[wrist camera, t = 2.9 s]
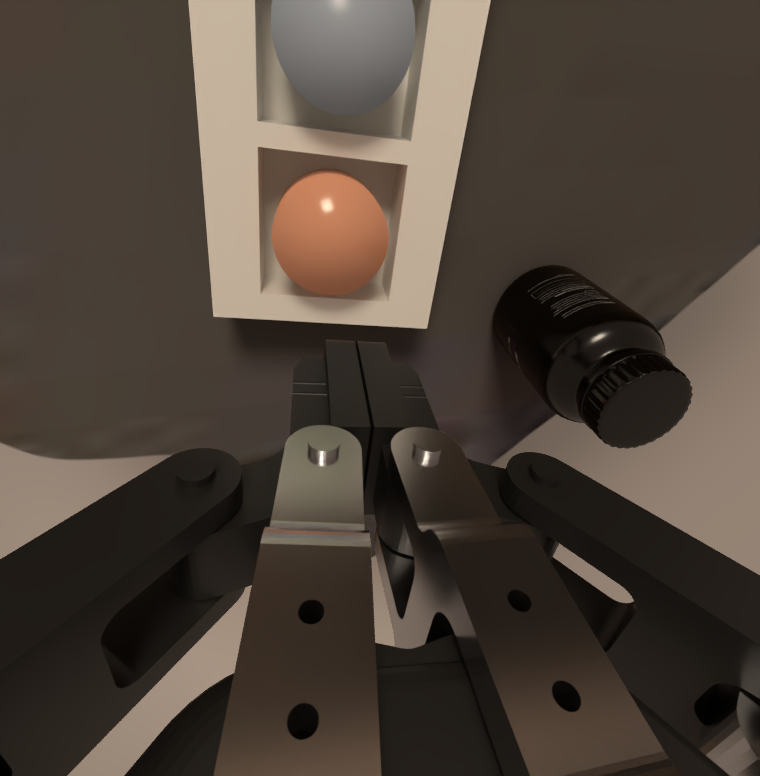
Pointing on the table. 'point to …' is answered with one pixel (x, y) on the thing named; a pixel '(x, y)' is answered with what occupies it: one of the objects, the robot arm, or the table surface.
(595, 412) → the supplement bottle
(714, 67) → the table surface
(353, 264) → the button terracotta
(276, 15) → the button slate
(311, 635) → the robot arm
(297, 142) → the button box
